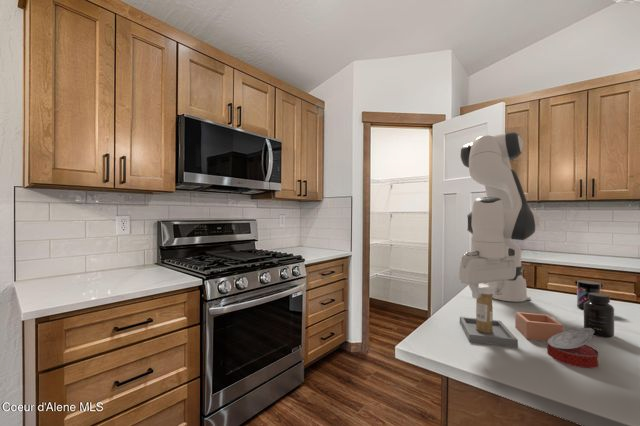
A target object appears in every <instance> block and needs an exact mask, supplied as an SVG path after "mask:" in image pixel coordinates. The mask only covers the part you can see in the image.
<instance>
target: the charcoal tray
mask: <svg viewBox="0 0 640 426" xmlns="http://www.w3.org/2000/svg"><path fill="white" fill-rule="evenodd" d="M459 324H460V326H461V329H462V330H463V332H464V335H465V336H466V338H467V340H468V341H469V342H472V343H479V344H486V345H487V344H488V345H497V346H505V347H513V348H518V347H519V341H518V340H519V339H518V338H517V337H516V336H515V335H514V334H513V333H512V332H511V331H510V329H509V328H508V327H506V325H505V324H504V323H503V322H502V321H501V320H496V319H495V320H494V319H493V321H492V329H493V332H492V333H483V332H480V331H478V330H477V329H476V317H467V316H459Z"/></svg>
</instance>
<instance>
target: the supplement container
mask: <svg viewBox="0 0 640 426" xmlns="http://www.w3.org/2000/svg"><path fill="white" fill-rule="evenodd" d="M576 284H577V285H576V287H577V288H576V291H577V292H576V306H577V308H578V309H580V310H583V311H584V303H585V302H587V301H589V299H588V293H601V289H602V287H601V286H602V284H601V283H600V282H596V281H593V280H584V279H583V280H582V279H581V280H577V283H576Z"/></svg>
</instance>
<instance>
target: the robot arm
mask: <svg viewBox="0 0 640 426" xmlns="http://www.w3.org/2000/svg"><path fill="white" fill-rule="evenodd" d="M519 135H520V134H518V133H517V132H514V131H513V132H505V133H504V134H503V133H502V134H497V135H496V134H495V135H488V134H486V135H482V136H479V137H477V138H476V139H474V140H473V142H468V143H467V144H464V145H463V146H462V148H461V149H460V161H461V162H462V164H463V166H464V167H466V168H468V170H469V171H468V172H469V176H470V177H471V179H473V181H475V182H476V183H477V184H480V185H481V186H482V185H483V186H484V187H485V192H486V196H481V197H477V198H476V199H474V200H473V205H472V211H470V212H469V213H468V214H467V231H468V232H469V233H470V234H471V235H472V236H471V239H470V240H471V241H470V242H471V245H470V246H471V251H466V252H464V254H463V256H461V261H460V265H459V274H458V280H459V282H460V283H462V284H465V285H468V287H469V288H470V290H471V294H472V295H471V296H472V299H475V300H477V299H478V298H481V293H480V292H479V291H478V289H477V287H479V285H486V286H491V287H493V295H492V299H495V300H498V301H499V300H500V301H505V302H513V303H514V302H517V303H519V302H525V301H528V300H531V299H532V298H531V296H529V295H528V293H527V280H526V279H525V278H524V277H523V276H522V275H523V271H524V270H523V266H522V249H521V247H520V246H519V244H517V243H515V242H514V241H513V240H517V241H525V240H527V239H528V238H530V237H531V236H533V235H534V234H535V232H536V231H537V230H538V229H539V227H540V224H541V219H540V216H539V214H538V212H537V211H535V210H533V209H532V208H531V207H530V206H529V203H528V200H527V198H526V195H525V192H524V190H523V189H524V188H523V186H522V183H521V182H520V179H519V176H518V175H517V172H516V171H515V170H513V168H512V165H511V162H514V161H515V159H517V158H519V156H520V155H521V154H522V151H523V149H524V143H523V140H522V138H521V136H519ZM510 161H511V162H510Z"/></svg>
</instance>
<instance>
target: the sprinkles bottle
mask: <svg viewBox="0 0 640 426" xmlns="http://www.w3.org/2000/svg"><path fill="white" fill-rule="evenodd" d="M477 289H478V291H479V292H480V293H481V298H478V299H476V301H475V302H476V303H475V304H476V305H475V306H476V307H475V316H476V317H475V318H476V329H477V330H478V331H480V332H483V333H492V332H493V329H492V321H493V320H494V319H493V314H494V312H493V309H494V308H493V298H492V295H493V287H491V286H486V284H479V287H477Z"/></svg>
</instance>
